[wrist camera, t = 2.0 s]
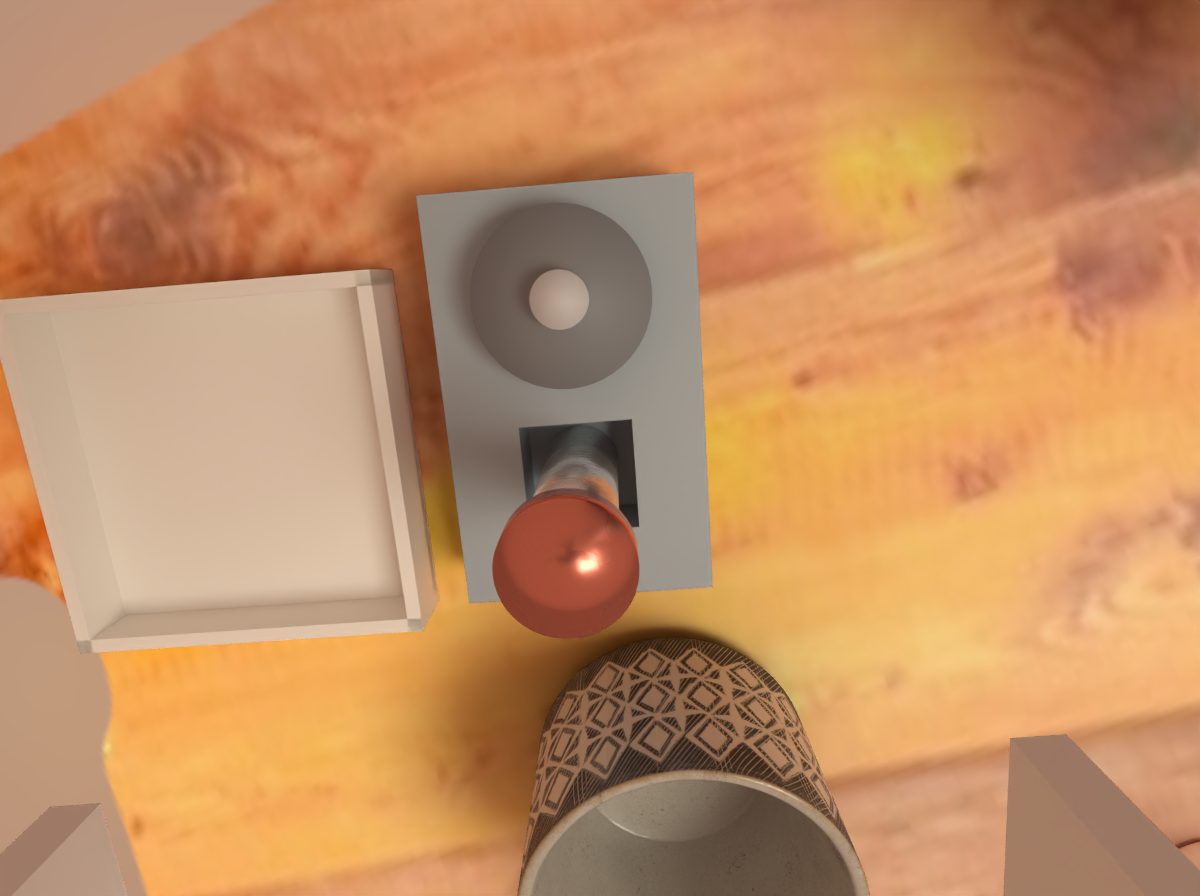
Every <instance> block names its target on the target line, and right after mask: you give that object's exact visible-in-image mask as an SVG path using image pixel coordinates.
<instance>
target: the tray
mask: <svg viewBox="0 0 1200 896" xmlns="http://www.w3.org/2000/svg"><path fill="white" fill-rule="evenodd" d="M0 360H1V363H2V367H3V371H4V374H5V378H6V382H7V385H8V389H9V393H10V396H11V400H12V404H13V407H14V411H15V415H16V419H17V422H18V426H19V430H20V433H21V437H22V441H23V444H24V448H25V452H26V455H27V459H28V463H29V467H30V470H31V474H32V478H33V481H34V485H35V489H36V492H37V496H38V500H39V503H40V507H41V511H42V514H43V518H44V522H45V526H46V529H47V533H48V537H49V540H50V544H51V548H52V551H53V555H54V559H55V562H56V566H57V570H58V573H59V577H60V581H61V585H62V588H63V592H64V596H65V599H66V603H67V607H68V610H69V614H70V618H71V621H72V625H73V629H74V632H75V636H76V640H77V643H78V647H79V651H80V653H94V652H110V651H126V650H141V649H156V648H171V647H186V646H201V645H217V644H232V643H247V642H262V641H277V640H293V639H308V638H323V637H338V636H353V635H368V634H384V633H399V632H414V631H423V630H424V628H425V626H426V624H427V623H428V621H429V619H430V617H431V615H432V613H433V611H434V609H435V607H436V605H437V603H438V602H439V597H438V589H437V582H436V575H435V568H434V561H433V554H432V547H431V540H430V533H429V526H428V519H427V512H426V505H425V498H424V491H423V484H422V476H421V469H420V462H419V455H418V448H417V441H416V434H415V427H414V420H413V413H412V406H411V399H410V392H409V385H408V378H407V371H406V363H405V356H404V349H403V342H402V335H401V328H400V321H399V314H398V307H397V300H396V293H395V286H394V279H393V272H392V270H387V269H367V270H355V271H343V272H331V273H319V274H307V275H295V276H282V277H270V278H258V279H246V280H234V281H222V282H210V283H198V284H185V285H173V286H161V287H149V288H137V289H125V290H113V291H101V292H88V293H76V294H64V295H52V296H40V297H28V298H16V299H4V300H0Z"/></svg>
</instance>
